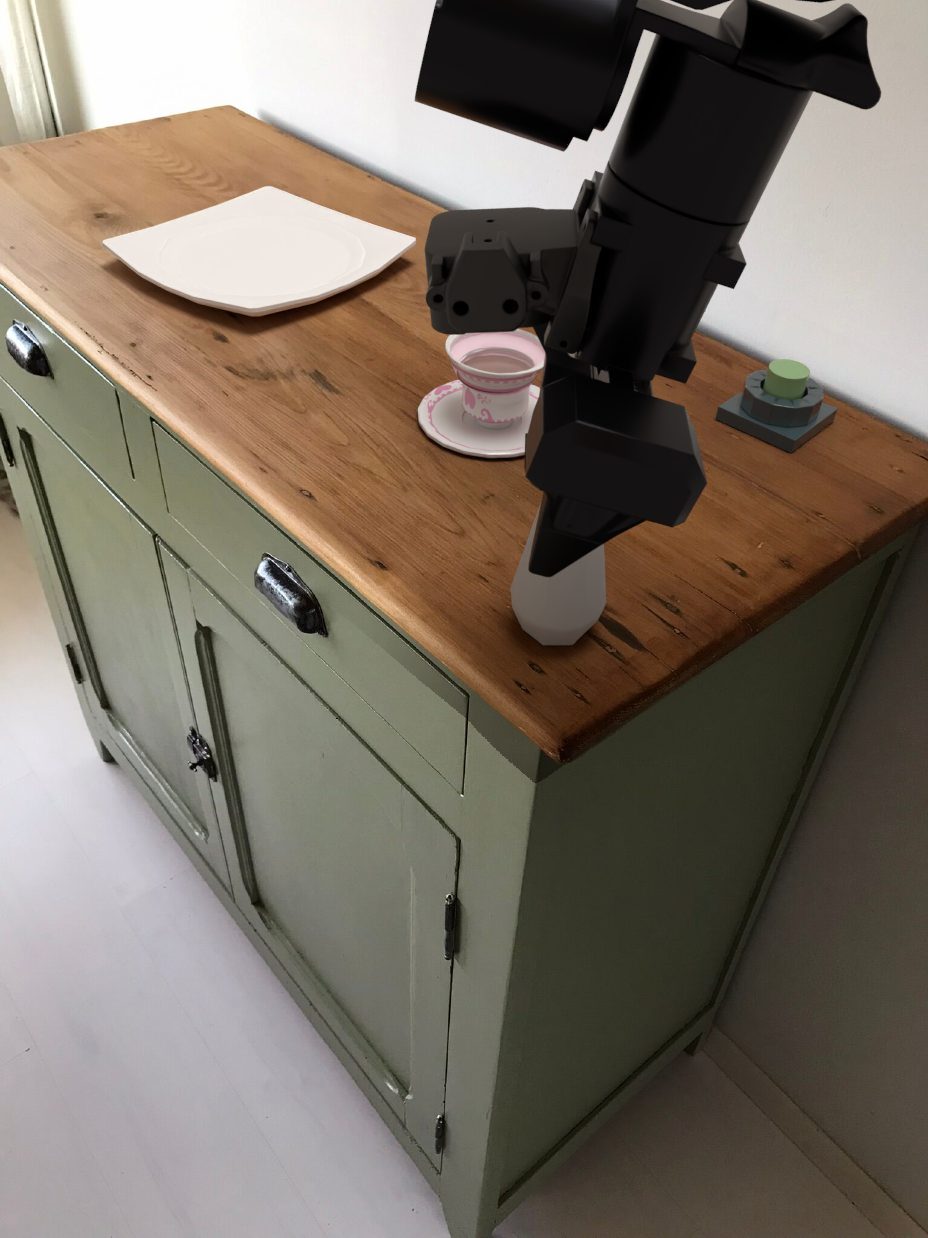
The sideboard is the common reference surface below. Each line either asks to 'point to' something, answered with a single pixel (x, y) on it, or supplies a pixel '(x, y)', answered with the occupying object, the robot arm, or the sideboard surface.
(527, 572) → the salt shaker
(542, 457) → the robot arm
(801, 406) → the button base
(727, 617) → the sideboard surface
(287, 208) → the plate
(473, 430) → the teacup
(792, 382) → the green short cylinder
